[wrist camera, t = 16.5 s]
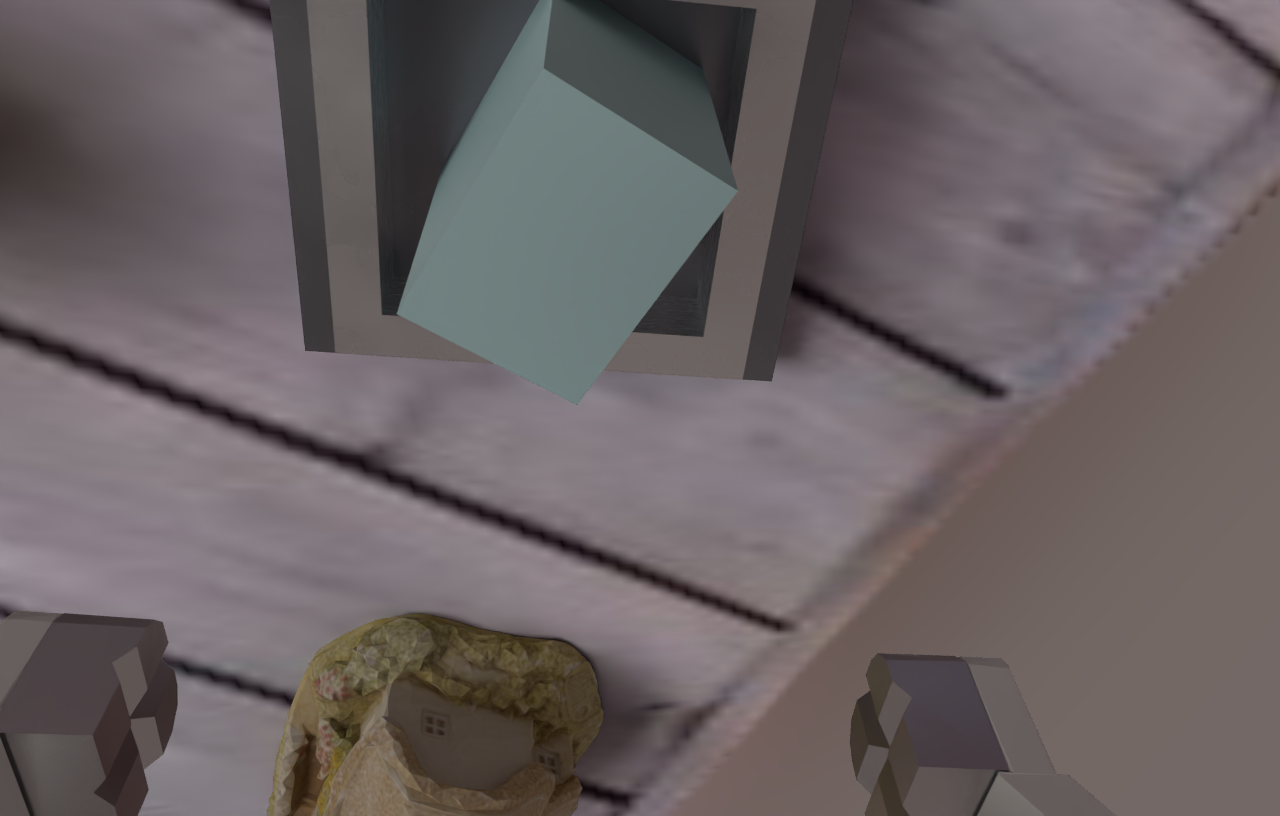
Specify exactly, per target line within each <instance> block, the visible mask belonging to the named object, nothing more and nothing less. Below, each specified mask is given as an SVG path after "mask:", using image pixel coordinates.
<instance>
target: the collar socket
mask: <svg viewBox="0 0 1280 816" xmlns="http://www.w3.org/2000/svg"><path fill="white" fill-rule="evenodd" d="M600 1H601V2H603V3H604V4H606V5H607V6H609V7H610V8H612V9H613V10H615V11H616V12H618V13H619V14H621V15H622V16H624V17H625V18H627V19H628V20H630V21H631V22H633V23H634V24H636V25H637V26H639V27H640V28H642V29H643V30H645V31H646V32H648V33H649V34H651V35H652V36H654V37H655V38H657V39H658V40H659V41H661V42H662V43H664V44H665V45H667V46H668V47H670V48H671V49H673V50H674V51H676V52H677V53H679V54H680V55H682V56H683V57H685V58H686V59H688V60H689V61H691V62H692V63H694V64H695V65H697V66H698V67H700V68H701V69H703V71H704V74H705V78H706V81H707V85H708V88H709V91H710V95H711V98H712V102H713V105H714V109H715V112H716V116H717V119H718V123H719V126H720V130H721V133H722V137H723V140H724V144H725V147H726V151H727V154H728V158H729V161H730V165H731V168H732V172H733V175H734V178H735V182H736V185H737V189H738V192H737V193H736V194H735V196H734V197H733V198H732V200H731V201H730V202H729V204H728V205H727V206H726V208H725V209H724V210H723V212H722V213H721V214H720V216H719V217H718V218H717V220H716V221H715V222H714V224H713V225H712V226H711V228H710V229H709V230H708V232H707V233H706V234H705V236H704V237H703V238H702V240H701V241H700V242H699V244H698V245H697V246H696V248H695V249H694V250H693V252H692V253H691V254H690V256H689V257H688V258H687V260H686V261H685V262H684V264H683V265H682V266H681V268H680V269H679V270H678V272H677V273H676V274H675V275H674V277H673V278H672V279H671V281H670V282H669V283H668V285H667V286H666V287H665V289H664V290H663V291H662V293H661V294H660V295H659V297H658V298H657V299H656V301H655V302H654V303H653V305H652V306H651V307H650V309H649V310H648V311H647V313H646V314H645V315H644V317H643V318H642V319H641V321H640V322H639V323H638V325H637V326H636V327H635V329H634V330H633V331H632V333H631V334H630V335H629V337H628V338H627V339H626V341H625V342H624V343H623V345H622V346H621V347H620V349H619V350H618V351H617V353H616V354H615V355H614V357H613V358H612V359H611V361H610V362H609V363H608V365H607V366H606V367H605V369H604V370H605V371H620V372H635V373H650V374H666V375H681V376H696V377H711V378H727V379H742V380H743V379H745V380H760V381H772V378H773V373H774V368H775V364H776V359H777V354H778V349H779V345H780V340H781V335H782V331H783V326H784V321H785V317H786V312H787V307H788V303H789V298H790V293H791V289H792V284H793V279H794V275H795V270H796V265H797V261H798V256H799V251H800V247H801V242H802V237H803V233H804V228H805V223H806V218H807V214H808V209H809V204H810V200H811V195H812V190H813V186H814V181H815V176H816V172H817V167H818V162H819V158H820V153H821V148H822V144H823V139H824V134H825V130H826V125H827V120H828V116H829V111H830V106H831V102H832V97H833V92H834V88H835V83H836V78H837V73H838V69H839V64H840V59H841V55H842V50H843V45H844V41H845V36H846V31H847V27H848V22H849V17H850V13H851V8H852V3H853V0H600ZM538 2H539V0H270V10H271V20H272V29H273V39H274V49H275V59H276V69H277V78H278V88H279V98H280V108H281V118H282V128H283V137H284V147H285V157H286V167H287V177H288V186H289V196H290V206H291V216H292V226H293V236H294V245H295V255H296V265H297V275H298V285H299V294H300V304H301V314H302V324H303V334H304V344H305V351H318V352H333V353H345V354H361V355H376V356H391V357H406V358H422V359H437V360H452V361H467V362H483V363H493V362H491V361H489V360H487V359H485V358H483V357H481V356H479V355H477V354H475V353H473V352H471V351H469V350H467V349H465V348H463V347H461V346H459V345H457V344H455V343H453V342H451V341H449V340H447V339H445V338H443V337H441V336H439V335H437V334H435V333H433V332H431V331H429V330H427V329H425V328H423V327H421V326H419V325H417V324H415V323H413V322H411V321H409V320H407V319H405V318H403V317H401V316H399V315H397V311H398V308H399V305H400V302H401V299H402V295H403V292H404V289H405V286H406V283H407V279H408V276H409V273H410V270H411V267H412V263H413V260H414V257H415V254H416V251H417V247H418V244H419V241H420V238H421V235H422V231H423V228H424V225H425V222H426V219H427V215H428V212H429V209H430V206H431V203H432V199H433V196H434V193H435V190H436V187H437V183H438V180H439V177H440V174H441V171H442V169H443V167H444V165H445V164H446V162H447V160H448V158H449V157H450V155H451V153H452V151H453V150H454V148H455V146H456V144H457V143H458V141H459V139H460V138H461V136H462V134H463V132H464V131H465V129H466V127H467V125H468V124H469V122H470V120H471V118H472V117H473V115H474V113H475V111H476V110H477V108H478V106H479V104H480V103H481V101H482V99H483V97H484V96H485V94H486V92H487V90H488V89H489V87H490V85H491V83H492V82H493V80H494V78H495V76H496V75H497V73H498V71H499V70H500V68H501V66H502V64H503V63H504V61H505V59H506V57H507V56H508V54H509V52H510V50H511V49H512V47H513V45H514V43H515V42H516V40H517V38H518V36H519V35H520V33H521V31H522V29H523V28H524V26H525V24H526V22H527V21H528V19H529V17H530V15H531V14H532V12H533V10H534V9H535V7H536V5H537V3H538Z"/></svg>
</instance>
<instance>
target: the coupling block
mask: <svg viewBox="0 0 1280 816" xmlns="http://www.w3.org/2000/svg"><path fill="white" fill-rule="evenodd" d="M737 192H738V189H737V185H736V182H735V178H734V175H733V172H732V168H731V165H730V161H729V158H728V154H727V151H726V147H725V144H724V140H723V137H722V133H721V130H720V126H719V123H718V119H717V116H716V112H715V109H714V105H713V102H712V98H711V95H710V91H709V88H708V85H707V81H706V78H705V74H704V71H703V69H701V68H700V67H698V66H697V65H695V64H694V63H692V62H691V61H689V60H688V59H686V58H685V57H683V56H682V55H680V54H679V53H677V52H676V51H674V50H673V49H671V48H670V47H668V46H667V45H665V44H664V43H662V42H661V41H659V40H658V39H657V38H655V37H654V36H652V35H651V34H649V33H648V32H646V31H645V30H643V29H642V28H640V27H639V26H637V25H636V24H634V23H633V22H631V21H630V20H628V19H627V18H625V17H624V16H622V15H621V14H619V13H618V12H616V11H615V10H613V9H612V8H610V7H609V6H607V5H606V4H604V3H603V2H601V1H600V0H539V2H538V3H537V5H536V7H535V9H534V10H533V12H532V14H531V15H530V17H529V19H528V21H527V22H526V24H525V26H524V28H523V29H522V31H521V33H520V35H519V36H518V38H517V40H516V42H515V43H514V45H513V47H512V49H511V50H510V52H509V54H508V56H507V57H506V59H505V61H504V63H503V64H502V66H501V68H500V70H499V71H498V73H497V75H496V76H495V78H494V80H493V82H492V83H491V85H490V87H489V89H488V90H487V92H486V94H485V96H484V97H483V99H482V101H481V103H480V104H479V106H478V108H477V110H476V111H475V113H474V115H473V117H472V118H471V120H470V122H469V124H468V125H467V127H466V129H465V131H464V132H463V134H462V136H461V138H460V139H459V141H458V143H457V144H456V146H455V148H454V150H453V151H452V153H451V155H450V157H449V158H448V160H447V162H446V164H445V165H444V167H443V169H442V171H441V174H440V177H439V180H438V183H437V187H436V190H435V193H434V196H433V199H432V203H431V206H430V209H429V212H428V215H427V219H426V222H425V225H424V228H423V231H422V235H421V238H420V241H419V244H418V247H417V251H416V254H415V257H414V260H413V263H412V267H411V270H410V273H409V276H408V279H407V283H406V286H405V289H404V292H403V295H402V299H401V302H400V305H399V308H398V311H397V315H399V316H401V317H403V318H405V319H407V320H409V321H411V322H413V323H415V324H417V325H419V326H421V327H423V328H425V329H427V330H429V331H431V332H433V333H435V334H437V335H439V336H441V337H443V338H445V339H447V340H449V341H451V342H453V343H455V344H457V345H459V346H461V347H463V348H465V349H467V350H469V351H471V352H473V353H475V354H477V355H479V356H481V357H483V358H485V359H487V360H489V361H491V362H493V363H494V364H496V365H498V366H500V367H502V368H504V369H506V370H508V371H510V372H512V373H514V374H516V375H518V376H520V377H522V378H524V379H526V380H528V381H530V382H532V383H534V384H536V385H538V386H540V387H542V388H544V389H546V390H548V391H550V392H552V393H554V394H556V395H558V396H560V397H562V398H564V399H566V400H568V401H570V402H572V403H574V404H576V405H577V404H578V403H579V402H580V400H581V399H582V398H583V396H584V395H585V394H586V392H587V391H588V390H589V388H590V387H591V386H592V384H593V383H594V382H595V380H596V379H597V378H598V377H599V375H600V374H601V373H602V371H603V370H604V369H605V367H606V366H607V365H608V363H609V362H610V361H611V359H612V358H613V357H614V355H615V354H616V353H617V351H618V350H619V349H620V347H621V346H622V345H623V343H624V342H625V341H626V339H627V338H628V337H629V335H630V334H631V333H632V331H633V330H634V329H635V327H636V326H637V325H638V323H639V322H640V321H641V319H642V318H643V317H644V315H645V314H646V313H647V311H648V310H649V309H650V307H651V306H652V305H653V303H654V302H655V301H656V299H657V298H658V297H659V295H660V294H661V293H662V291H663V290H664V289H665V287H666V286H667V285H668V283H669V282H670V281H671V279H672V278H673V277H674V275H675V274H676V273H677V272H678V270H679V269H680V268H681V266H682V265H683V264H684V262H685V261H686V260H687V258H688V257H689V256H690V254H691V253H692V252H693V250H694V249H695V248H696V246H697V245H698V244H699V242H700V241H701V240H702V238H703V237H704V236H705V234H706V233H707V232H708V230H709V229H710V228H711V226H712V225H713V224H714V222H715V221H716V220H717V218H718V217H719V216H720V214H721V213H722V212H723V210H724V209H725V208H726V206H727V205H728V204H729V202H730V201H731V200H732V198H733V197H734V196H735V194H736V193H737Z"/></svg>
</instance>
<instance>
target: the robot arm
mask: <svg viewBox="0 0 1280 816" xmlns="http://www.w3.org/2000/svg"><path fill="white" fill-rule="evenodd" d="M167 645H168V640H167V636H166V632H165V629H164V625H163V622H161V621H157V620H151V619H137V618H123V617H110V616H96V615H82V614H68V613H64V614H60V613H45V612H30V611H15V612H14V613H12V614H11V615H10V616H8V617H7V618H5V619H4V620H3V621H2V622H1V623H0V816H138V814H139V811H140V809H141V807H142V804H143V802H144V799H145V797H146V795H147V792H148V790H149V789H148V785H147V781H146V777H145V773H144V769H145V768H146V767H148V766H149V765H150V764H151V763H153V762H154V761H155V760H157V759H158V758H159V757H160V756H162V755H163V754H164V751H165V749H166V746H167V743H168V741H169V738H170V736H171V733H172V730H173V725H174V720H175V715H176V710H177V705H178V701H177V681H176V676H175V671H174V670H173V669H172V668H171V667H170V666H169V665H167V664H166V663H165V662H164V661H163V660H161V658H162V656H163V654H164V651H165V649H166V647H167ZM866 677H867V681H868V684H869V688H870V691H869V692H868V693H866V694H865V695H864V696H862V697H861V698H859V699H858V700H857V702H856V706H855V709H854V713H853V716H852V720H851V735H850V746H851V756H852V762H853V766H854V771H855V776H856V780H857V781H858V782H859V783H860V784H862V786H863V787H864V788H865V789H866V790H867V791H868V792H869V793H870V794H871V798H870V801H869V803H868V806H867V809H866V812H865V816H1116V815H1115V814H1114V813H1113V812H1111V811H1110V810H1109V809H1108V808H1107V807H1106V806H1104V805H1103V804H1102V803H1101V802H1100V801H1099V800H1097V799H1096V798H1095V797H1094V796H1093V795H1092V794H1091V793H1089V792H1088V791H1087V790H1086V789H1085V788H1084V787H1082V786H1081V785H1080V784H1079V783H1078V782H1077V781H1075V780H1074V779H1073V778H1072V777H1071V776H1070V775H1063V774H1056V772H1055V769H1054V767H1053V765H1052V763H1051V760H1050V758H1049V756H1048V754H1047V751H1046V749H1045V747H1044V745H1043V742H1042V740H1041V738H1040V736H1039V733H1038V731H1037V729H1036V727H1035V724H1034V722H1033V720H1032V718H1031V716H1030V713H1029V711H1028V709H1027V706H1026V705H1025V702H1024V700H1023V697H1022V695H1021V693H1020V691H1019V689H1018V686H1017V684H1016V682H1015V679H1014V677H1013V675H1012V673H1011V670H1010V668H1009V666H1008V665H1007V664H1006V663H1005V662H1004V661H1003V660H1002V659H1001V658H982V657H955V656H941V655H913V654H884V653H877V654H876V655H875V657H874V658H873V659H872V660H871V662H870V665H869V667H868V670H867V673H866Z"/></svg>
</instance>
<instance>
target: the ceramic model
mask: <svg viewBox="0 0 1280 816" xmlns="http://www.w3.org/2000/svg"><path fill="white" fill-rule="evenodd" d="M597 686H598V682H597V680H596V677H595V673H594V671H593V669H592V666H591V664H590V663H589V662H588V661H586V659H585V658H584V656H581V654H580V652H578V651H577V650H576V649H575V648H573V647H572V646H570V645H569V644H567V643H565V642H562V641H557V640H544V639H536V638H528V637H519V636H516V637H514V636H513V635H510V634H504V633H501V632H495V631H489V630H484V629H479V628H476V627H473V626H472V627H470V626H468V625H465V624H462V623H459V622H455V621H451V620H448V619H444V618H440V617H434V616H431V615H426V614H408V615H402V616H394V617H390V618H383V619H379V620H375V621H373V622H370V623H367V624H365V625H363V626H361V627H359V628H357V629H355V630H353V631H351V632H349V633H346V634H345V635H343V636H341V637H339V638H337V639H335V640H334V641H332V642H330V643H329V644H327V645H325V646H324V647H322V648H321V649H320V650H319V651H318V652H317V653H316V655H315V656H314V658H313V660H312V661H311V662H310V663H309V667H308V669H307V671H306V673H305V675H304V677H303V679H302V680H301V683H300V685H299V688H298V690H297V693H296V695H295V698H294V700H293V703H292V705H291V708H290V710H289V712H288V715H287V721H286V725H285V727H284V735H283V737H282V739H281V742H280V746H279V749H278V754H277V758H276V765H275V771H274V775H273V788H274V790H273V793H272V795H271V796H270V798H269V804H270V806H269V807H268V809H267V816H571V815H572V814H573V812H574V811H575V810H576V808H577V805H578V799H579V796H580V793H581V791H582V789H583V788H582V786H581V784H580V781H579V779H578V777H577V776H574V775H573V772H575V769H576V763H577V761H578V760H579V758H580V757H581V756H582V755H583V753H584V752H585V751H586V750H587V748H588V747H589V746H590V744H591V743H592V742H593V740H594V739H595V738H596V736H597V735H598V734H599V731H600V726H601V724H602V722H603V713H604V711H603V710H602V709H601V705H600V703H601V699H600V697H599V693H598V691H597Z"/></svg>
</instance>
